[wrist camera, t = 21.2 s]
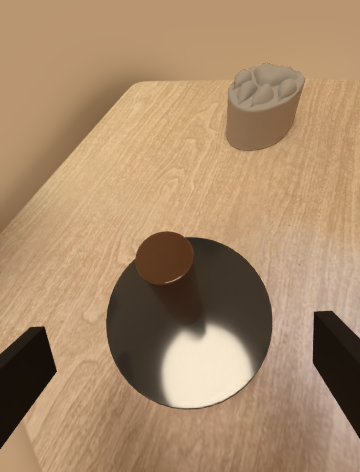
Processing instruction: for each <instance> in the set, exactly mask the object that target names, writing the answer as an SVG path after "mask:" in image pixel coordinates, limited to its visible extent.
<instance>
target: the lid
mask: <svg viewBox="0 0 360 472" xmlns="http://www.w3.org/2000/svg"><path fill="white" fill-rule="evenodd" d="M106 330H107V338H108V344H109V347H110V351H111V354H112V357H113V359H114V361H115V364H116V365H117V367H118V369H119V371H120V372H121V374H122V375H123V376H124V378H125V379H126V380H127V381H128V383H129V384H130V385H131V386H132V387H133V388H135V389H136V390H137V391H138V392H139V393H141V394H142V395H143V396H145V397H146V398H148V399H150V400H152V401H154V402H156V403H158V404H160V405H164V406H167V407H171V408H177V409H185V410H186V409H201V408H206V407H210V406H213V405H216V404H219V403H221V402H224V401H225V400H227V399H229V398H231V397H232V396H234V395H236V394H237V393H238V392H239V391H240V390H242V389H243V388H244V387H245V386H246V385H247V384H248V383H249V382H250V381H251V380H252V379H253V377H254V376H255V375H256V373H257V372H258V370H259V369H260V367H261V365H262V363H263V361H264V359H265V357H266V355H267V352H268V348H269V345H270V341H271V335H272V310H271V304H270V300H269V296H268V293H267V291H266V288H265V286H264V284H263V282H262V280H261V278H260V276H259V275H258V274H257V272H256V271H255V269H254V268H253V267H252V266H251V265H250V263H249V262H248V261H247V260H246V259H245V258H243V257H242V256H241V255H240V254H239V253H237V252H236V251H234V250H233V249H231V248H229V247H227V246H225V245H223V244H221V243H218V242H216V241H213V240H209V239H204V238H196V237H183V236H182V235H180V234H178V233H175V232H159V233H156V234H154V235H151V236H150V237H148V238H147V239H146V240H145V241H144V242H143V243H142V244H141V245H140V247H139V249H138V251H137V254H136V259H134V260H133V261H132V262H131V263H130V264H129V266H128V267H127V268H126V269H125V270H124V272H123V273H122V275H121V276H120V278H119V279H118V281H117V283H116V285H115V287H114V289H113V292H112V295H111V297H110V301H109V305H108V310H107V319H106Z"/></svg>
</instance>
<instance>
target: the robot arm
mask: <svg viewBox="0 0 360 472" xmlns="http://www.w3.org/2000/svg"><path fill="white" fill-rule="evenodd" d="M313 364H314V366H315V367H316V369H317V370H318V372H319V374H320V375H321V377H322V378H323V380H324V382H325V383H326V385H327V387H328V388H329V390H330V391H331V393H332V395H333V396H334V398H335V399H336V401H337V403H338V404H339V406H340V408H341V409H342V411H343V412H344V414H345V416H346V417H347V419H348V420H349V422H350V424H351V425H352V427H353V429H354V430H355V432H356V433H357V435H358V437H359V438H360V338H359V337H358V336H357V335H356V334H355V333H354V332H353V331H352V330H351V329H350V328H349V327H348V326H347V325H346V324H345V323H344V322H343V321H342V320H341V319H340V318H339V317H338V316H337V315H336V314H335V313H334V312H333V311H317V312H314V331H313ZM56 372H57V370H56V366H55V363H54V359H53V356H52V352H51V348H50V345H49V341H48V337H47V334H46V330H45V327H44V326H42V327H30V328H29V329H28V330H27V331H26V332H24V333H23V334H22V335H21V336H20V337H19V338H18V339H17V340H16V341H14V342H13V343H12V344H11V345H10V346H9V347H8V348H7V349H5V350H4V351H3V352H2V353H1V354H0V449H1V447H2V446H3V445H4V443H5V442H6V441H7V439H8V438H9V436H10V435H11V434H12V432H13V431H14V430H15V428H16V427H17V426H18V424H19V423H20V421H21V420H22V419H23V417H24V416H25V415H26V413H27V412H28V410H29V409H30V408H31V406H32V405H33V404H34V402H35V401H36V399H37V398H38V397H39V395H40V394H41V393H42V391H43V390H44V388H45V387H46V386H47V384H48V383H49V382H50V380H51V379H52V378H53V376H54V375H55V373H56Z"/></svg>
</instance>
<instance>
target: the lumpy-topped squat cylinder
mask: <svg viewBox="0 0 360 472" xmlns="http://www.w3.org/2000/svg"><path fill="white" fill-rule="evenodd" d="M304 82H305V77H304V75H303V74H302V73H301V72H299V71H295V70H294V69H292V68H291V67H284V66H277V65H273V64H270V63H263V64H261V65H258V66H254V67H252V68H249V69H244V70H242V71H240V72H239V73H238V74H237V75H236V77H235V79H234V82H233V83H232V84H231V86H230V87H229V91H228V109H227V132H226V135H227V139H228V141H229V143H230V144H231V145H232V146H233V147H234V148H236V149H239V150H244V151H251V150H259V149H263V148H266V147H268V146H271V145H273V144H275V143H277V142H279V141H280V140H281V139H282V138H283V137H284V135H285V134H286V133H287V132H288V130H289V128H290V127H291V125H292V123H293V119H294V116H295V113H296V109H297V106H298V103H299V99H300V96H301V93H302V89H303V86H304Z"/></svg>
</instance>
